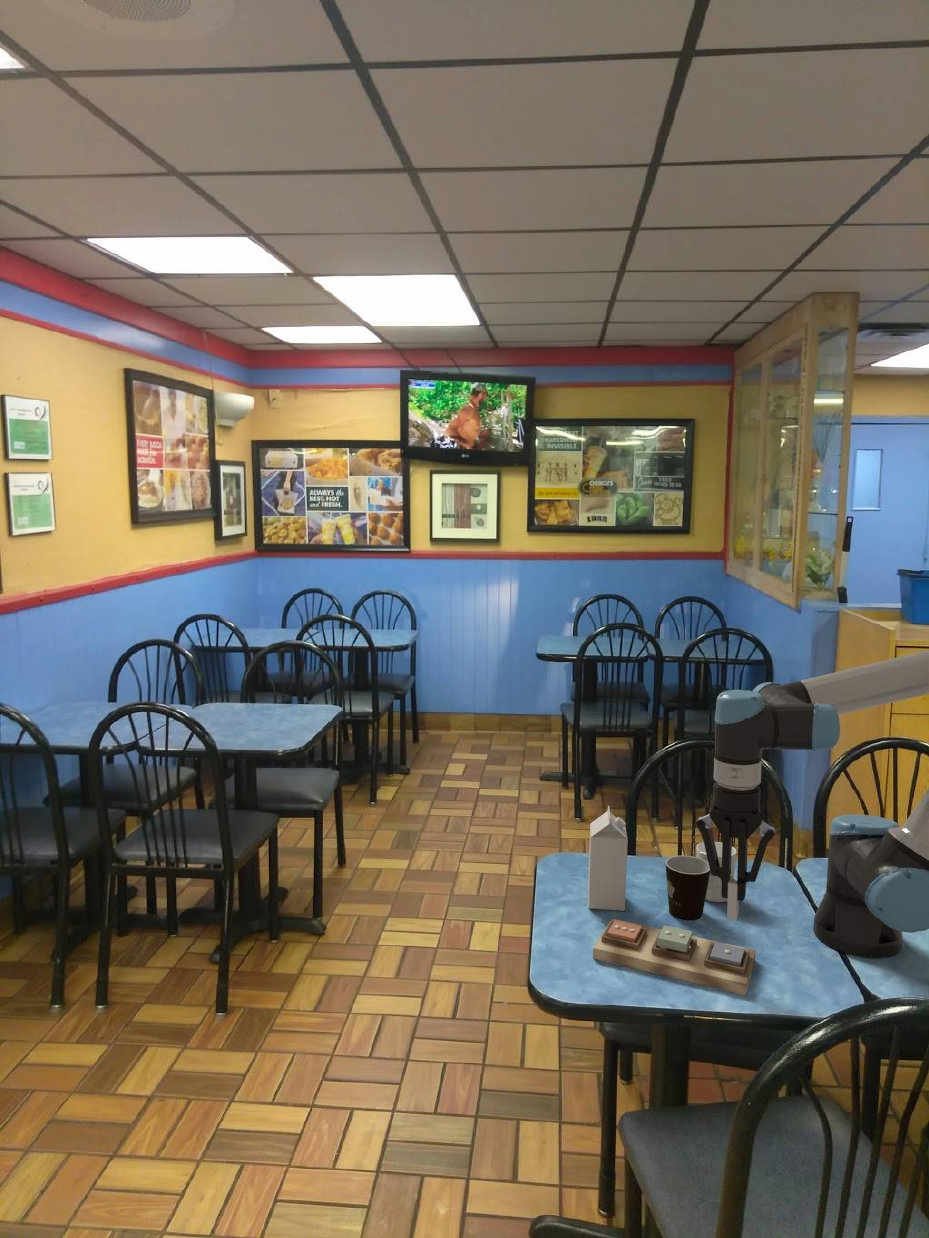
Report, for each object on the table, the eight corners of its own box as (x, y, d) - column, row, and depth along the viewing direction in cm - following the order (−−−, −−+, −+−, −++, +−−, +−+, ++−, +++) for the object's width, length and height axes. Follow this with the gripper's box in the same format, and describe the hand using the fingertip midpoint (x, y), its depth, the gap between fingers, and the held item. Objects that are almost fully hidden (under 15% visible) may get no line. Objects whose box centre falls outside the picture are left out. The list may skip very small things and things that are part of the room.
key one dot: (744, 956, 153) (744, 947, 152) (739, 970, 148) (740, 961, 148) (714, 950, 155) (715, 941, 154) (709, 963, 150) (710, 954, 150)
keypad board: (755, 960, 155) (756, 944, 155) (745, 995, 145) (746, 978, 144) (611, 928, 166) (612, 913, 166) (592, 958, 156) (593, 942, 155)
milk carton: (588, 909, 174) (591, 817, 171) (587, 893, 181) (590, 804, 178) (625, 911, 173) (628, 819, 170) (622, 895, 180) (626, 806, 177)
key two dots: (691, 939, 156) (692, 930, 156) (686, 952, 152) (686, 943, 151) (663, 933, 158) (664, 924, 158) (657, 945, 154) (657, 936, 154)
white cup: (706, 905, 176) (708, 858, 174) (687, 888, 183) (689, 842, 182) (741, 901, 178) (744, 854, 176) (721, 884, 185) (723, 839, 184)
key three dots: (641, 933, 160) (641, 925, 160) (634, 946, 156) (634, 937, 155) (614, 927, 162) (614, 919, 162) (607, 940, 158) (607, 931, 158)
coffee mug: (709, 925, 168) (712, 876, 166) (663, 921, 169) (665, 871, 168) (705, 898, 179) (708, 851, 178) (662, 894, 181) (664, 847, 179)
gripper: (692, 785, 146) (689, 918, 150) (775, 795, 141) (770, 933, 144) (701, 771, 153) (698, 900, 156) (780, 781, 147) (775, 913, 151)
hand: (732, 916), depth 150 cm, fingers closed
